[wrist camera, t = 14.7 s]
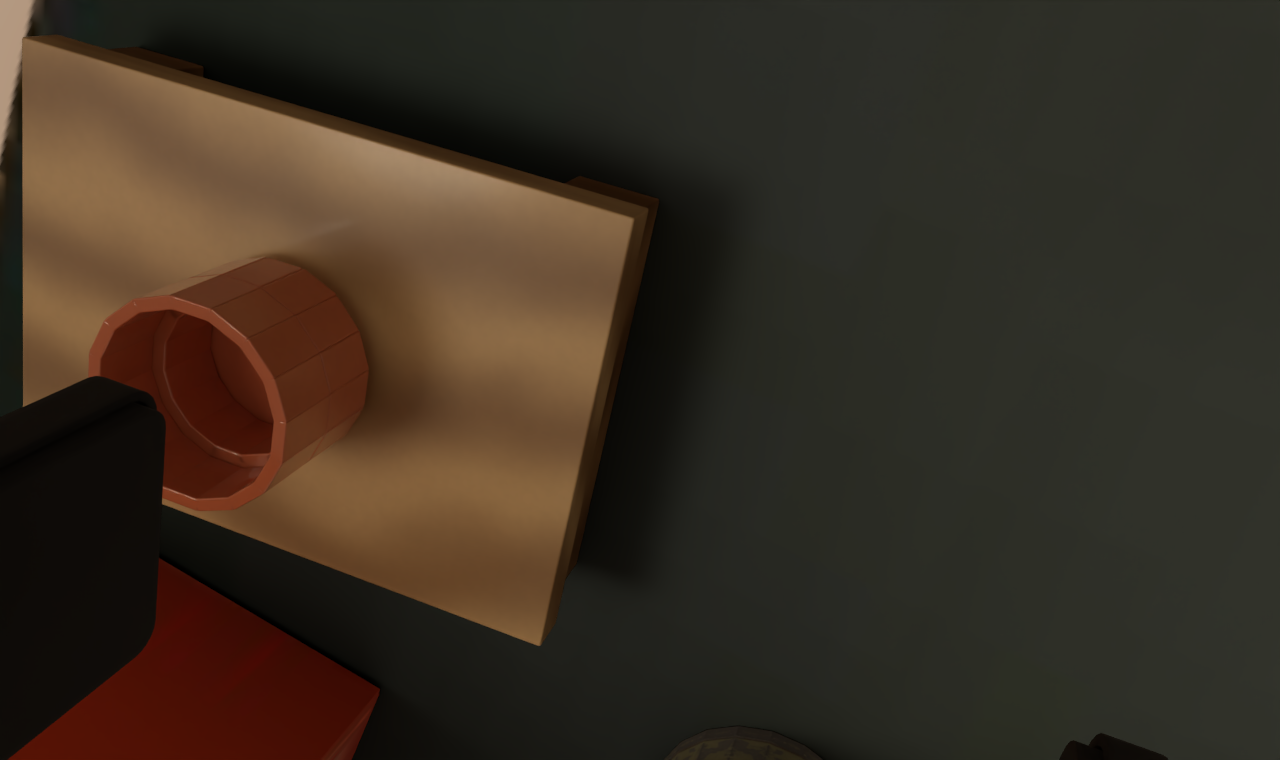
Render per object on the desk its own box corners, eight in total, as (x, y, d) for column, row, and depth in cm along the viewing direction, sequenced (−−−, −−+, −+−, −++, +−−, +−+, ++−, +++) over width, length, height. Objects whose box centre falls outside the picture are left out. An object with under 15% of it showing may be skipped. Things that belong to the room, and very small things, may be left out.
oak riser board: (125, 29, 42) (21, 36, 38) (677, 188, 38) (634, 218, 34) (112, 407, 49) (22, 451, 44) (586, 578, 45) (539, 647, 40)
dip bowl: (207, 229, 38) (89, 267, 33) (389, 287, 37) (295, 336, 32) (195, 409, 41) (85, 469, 36) (364, 469, 40) (274, 540, 35)
